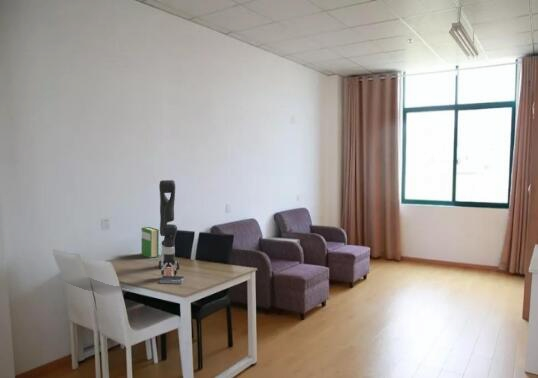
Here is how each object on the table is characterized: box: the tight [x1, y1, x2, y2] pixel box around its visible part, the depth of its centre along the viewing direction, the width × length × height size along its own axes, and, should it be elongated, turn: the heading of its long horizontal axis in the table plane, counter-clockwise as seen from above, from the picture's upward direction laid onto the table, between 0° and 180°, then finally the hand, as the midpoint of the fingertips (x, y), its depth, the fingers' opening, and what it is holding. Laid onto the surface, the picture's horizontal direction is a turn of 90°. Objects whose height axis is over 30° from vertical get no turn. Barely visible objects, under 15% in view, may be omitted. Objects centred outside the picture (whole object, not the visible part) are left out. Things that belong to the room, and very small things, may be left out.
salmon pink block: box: [165, 267, 174, 276], centre depth 279 cm, size 4×4×7 cm
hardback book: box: [141, 226, 160, 259], centre depth 343 cm, size 18×7×24 cm, turn 42°
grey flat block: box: [158, 275, 185, 285], centre depth 269 cm, size 8×15×3 cm, turn 90°
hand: (169, 275), depth 279 cm, fingers open, 8 cm apart
